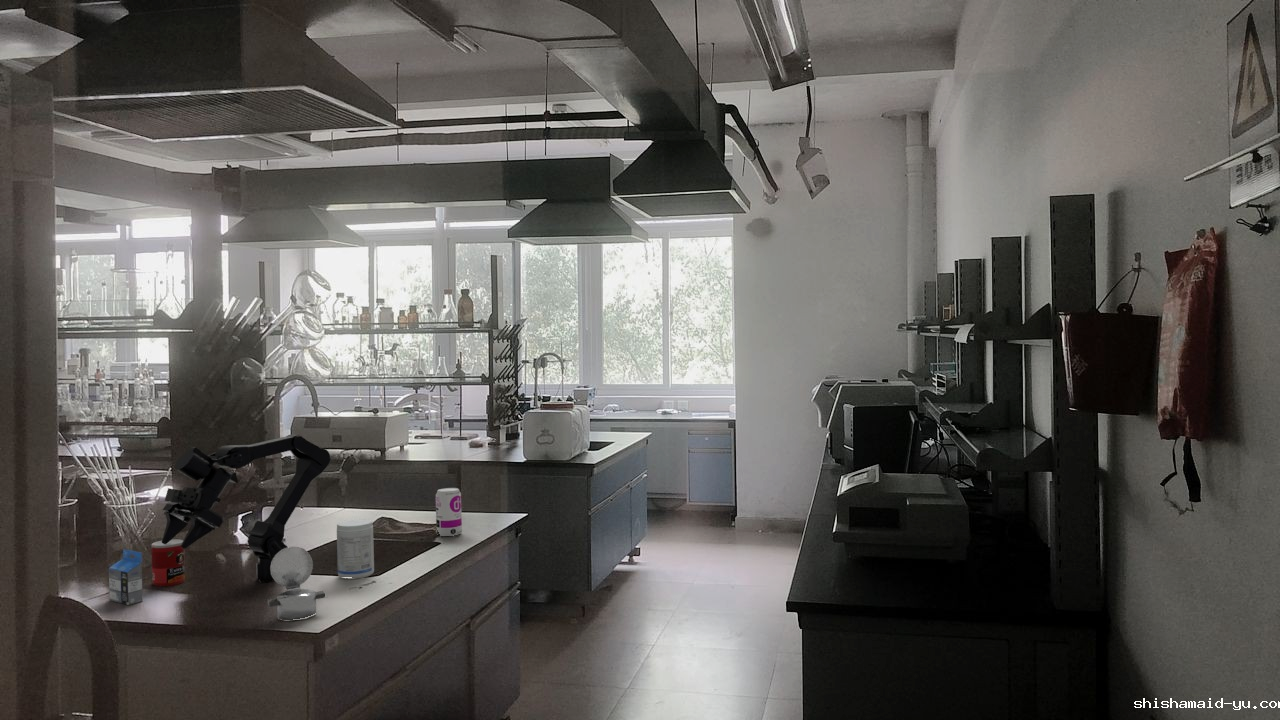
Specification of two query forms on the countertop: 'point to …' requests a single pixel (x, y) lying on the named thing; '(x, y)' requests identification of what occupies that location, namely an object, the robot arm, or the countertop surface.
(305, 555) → the lid
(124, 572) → the blue and grey carton
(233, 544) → the countertop surface
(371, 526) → the supplement tub
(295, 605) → the pot
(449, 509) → the supplement can
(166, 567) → the canned food
